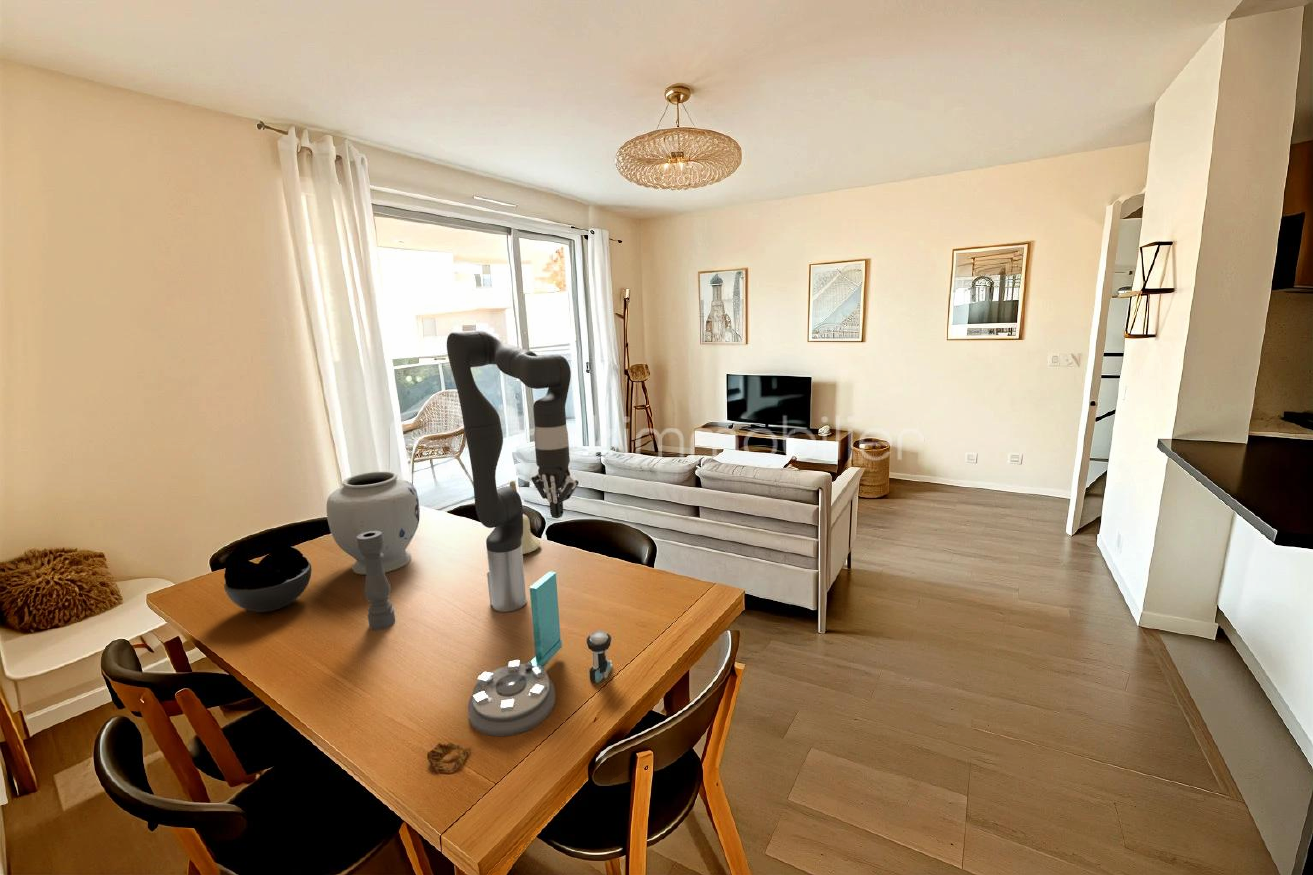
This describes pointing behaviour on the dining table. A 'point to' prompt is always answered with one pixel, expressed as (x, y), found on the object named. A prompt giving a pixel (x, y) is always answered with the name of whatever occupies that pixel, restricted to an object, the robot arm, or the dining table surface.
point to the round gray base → (515, 725)
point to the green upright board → (524, 684)
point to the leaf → (437, 757)
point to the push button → (599, 655)
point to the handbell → (527, 533)
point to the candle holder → (376, 581)
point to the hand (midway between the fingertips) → (557, 516)
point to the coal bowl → (267, 578)
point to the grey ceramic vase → (375, 516)
